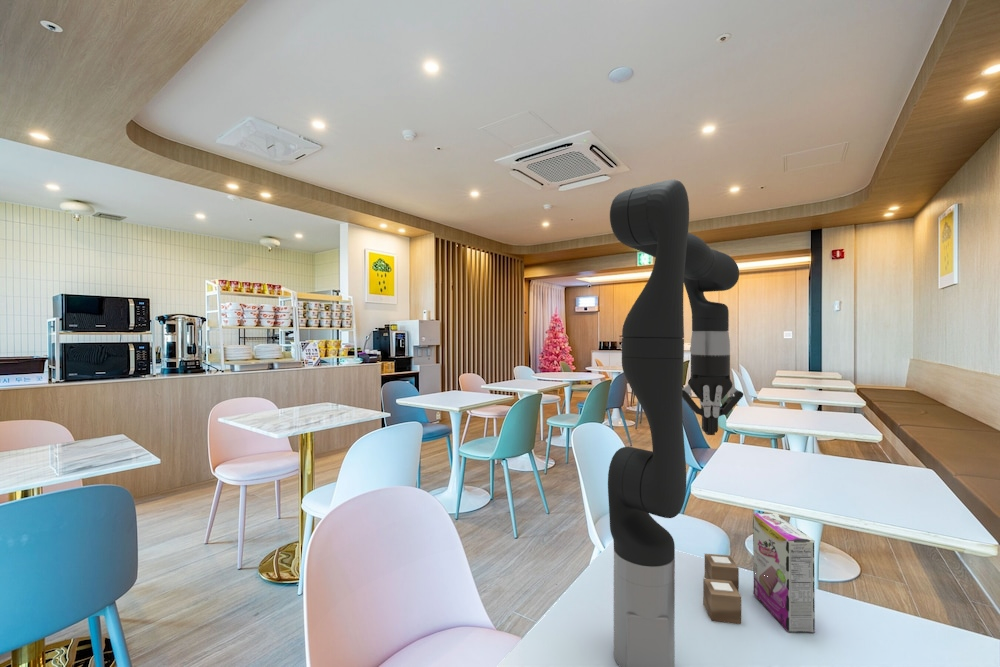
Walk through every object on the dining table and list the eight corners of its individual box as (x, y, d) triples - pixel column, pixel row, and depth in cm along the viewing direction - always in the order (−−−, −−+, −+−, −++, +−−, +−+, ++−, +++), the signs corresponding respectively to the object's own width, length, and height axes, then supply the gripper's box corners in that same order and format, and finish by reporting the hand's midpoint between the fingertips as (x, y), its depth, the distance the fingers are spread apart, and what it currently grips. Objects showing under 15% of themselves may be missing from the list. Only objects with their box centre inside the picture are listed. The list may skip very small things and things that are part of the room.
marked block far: (738, 593, 87) (738, 567, 87) (711, 590, 88) (711, 565, 88) (729, 579, 92) (729, 554, 92) (704, 576, 93) (704, 552, 93)
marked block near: (741, 624, 78) (741, 595, 78) (711, 621, 79) (711, 593, 79) (731, 607, 83) (731, 579, 83) (703, 604, 84) (703, 577, 84)
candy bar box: (751, 594, 87) (751, 512, 86) (776, 595, 86) (776, 512, 86) (787, 634, 75) (787, 539, 75) (816, 634, 75) (816, 539, 75)
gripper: (680, 353, 90) (680, 437, 90) (750, 353, 88) (750, 440, 88) (673, 351, 97) (673, 429, 98) (737, 351, 95) (737, 431, 95)
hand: (709, 434), depth 93 cm, fingers closed
